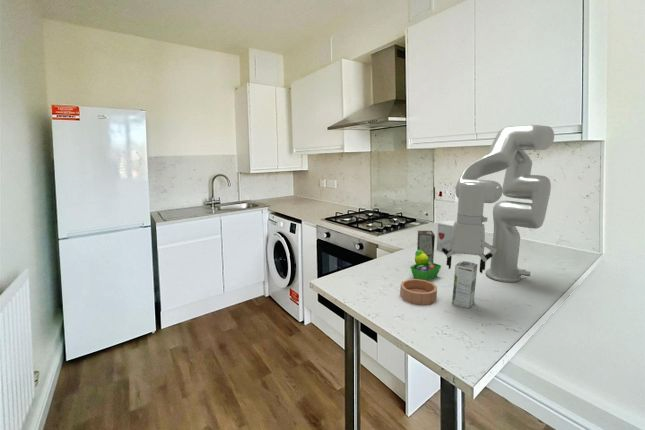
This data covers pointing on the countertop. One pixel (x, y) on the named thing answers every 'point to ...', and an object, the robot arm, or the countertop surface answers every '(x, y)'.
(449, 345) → the countertop surface
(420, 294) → the bowl
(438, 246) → the supplement box
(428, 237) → the coffee box
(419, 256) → the fruit basket
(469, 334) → the countertop surface
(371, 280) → the countertop surface
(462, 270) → the syrup box
